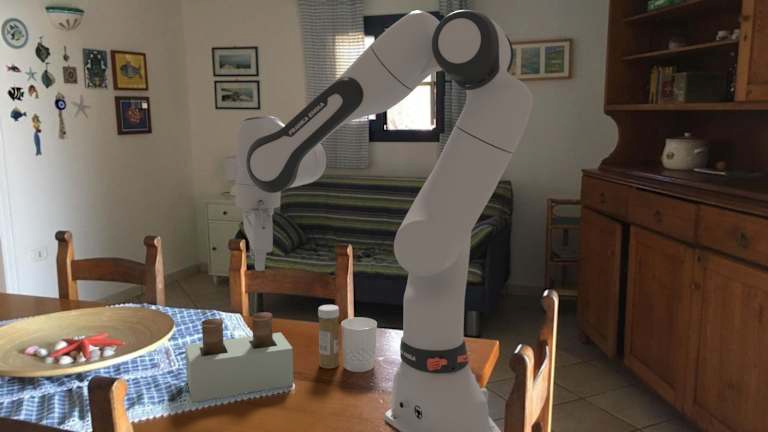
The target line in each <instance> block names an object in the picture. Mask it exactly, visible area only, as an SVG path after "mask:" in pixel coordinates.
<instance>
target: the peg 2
mask: <svg viewBox="0 0 768 432" xmlns="http://www.w3.org/2000/svg"><path fill="white" fill-rule="evenodd" d="M251 319H252V320H251V321H252V336H253V349H258V348H265V347H272V346H273V334H272V333H273V313H271V312H265V311H263V312H256V313H254V314H252V316H251Z"/></svg>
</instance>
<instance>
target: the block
mask: <svg viewBox="0 0 768 432" xmlns="http://www.w3.org/2000/svg"><path fill="white" fill-rule="evenodd" d="M272 334H273V346H272V347H265V348H258V349H253V335H251V336H244V337H243V336H242V337H237V338H229V339H228V338H227V339H223V343H224V353H223V354H216V355H209V356H203V342H198V343H192V344H185V345H184V349H185V350H184V351H185V370H186V371H185V372H186V373H185V374H186V384H187V383H188V385H187V388H188V387H189V389H188V392H189V391H190V393H189V396H190V395H191V397H190V400H191V403H196V402H202V401H208V400H213V399H214V398H215V399H219V398H220V397H221V398H225V396H227V397H231V396H230V395H233V396H236V395H235V394H239V395H243V394H242V393H245V394H247V393H246V392H250V393H255V392H254V391H256V392H261V391H267V390H274V389H279V388H284V387H291V386H294V353H293V352H294V351H293V349H294V347H292V345H291V344H290V343H289V341H288V339H286V337H285V335H283V333H282V332H281V331H280V332H274V333H273V332H272ZM260 390H261V391H260ZM221 398H220V399H221ZM215 399H214V400H215Z"/></svg>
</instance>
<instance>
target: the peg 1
mask: <svg viewBox="0 0 768 432" xmlns="http://www.w3.org/2000/svg"><path fill="white" fill-rule="evenodd" d="M201 334H202V343H203V356H209V355H216V354H223V353H224V343H223V340H224V320H223V318H217V317H214V318H213V317H211V318H206V319H204V320H202V321H201Z"/></svg>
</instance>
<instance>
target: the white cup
mask: <svg viewBox="0 0 768 432" xmlns="http://www.w3.org/2000/svg"><path fill="white" fill-rule="evenodd" d="M340 326H341V327H340V328H341V329H340V331H341V345H342V357H343V367H344V369H346V370H347V371H350V372H353V373H365V372H368V371H371V370H372V369H373V368H374V367H375V356H376V348H377V333H378V332H377V329H378V328H377V327H378V322H377V321H376V320H375V319H373V318H369V317H361V316H360V317H357V316H356V317H350V318H345V319H344V320H342V321H341V323H340Z"/></svg>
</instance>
